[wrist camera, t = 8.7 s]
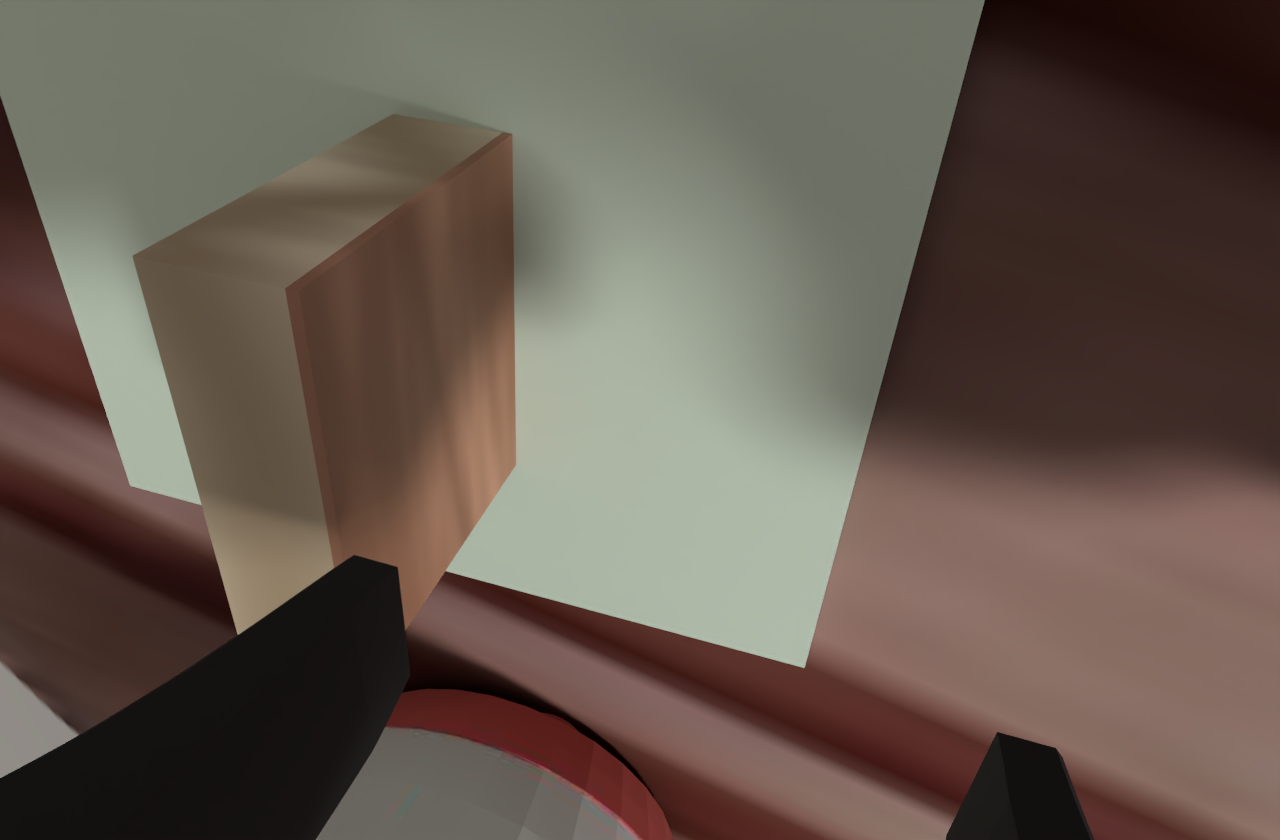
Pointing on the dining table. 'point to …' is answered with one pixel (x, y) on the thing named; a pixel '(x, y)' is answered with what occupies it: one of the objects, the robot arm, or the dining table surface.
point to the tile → (346, 359)
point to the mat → (555, 248)
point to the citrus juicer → (490, 778)
